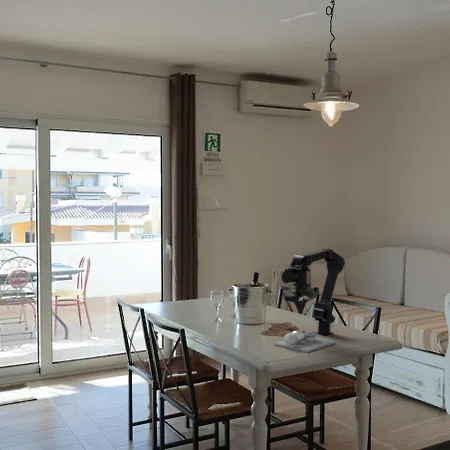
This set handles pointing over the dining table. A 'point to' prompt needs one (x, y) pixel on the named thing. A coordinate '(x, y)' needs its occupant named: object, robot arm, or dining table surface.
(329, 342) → the grey plate with knobs
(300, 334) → the elbow
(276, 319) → the dining table surface
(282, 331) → the fossil
